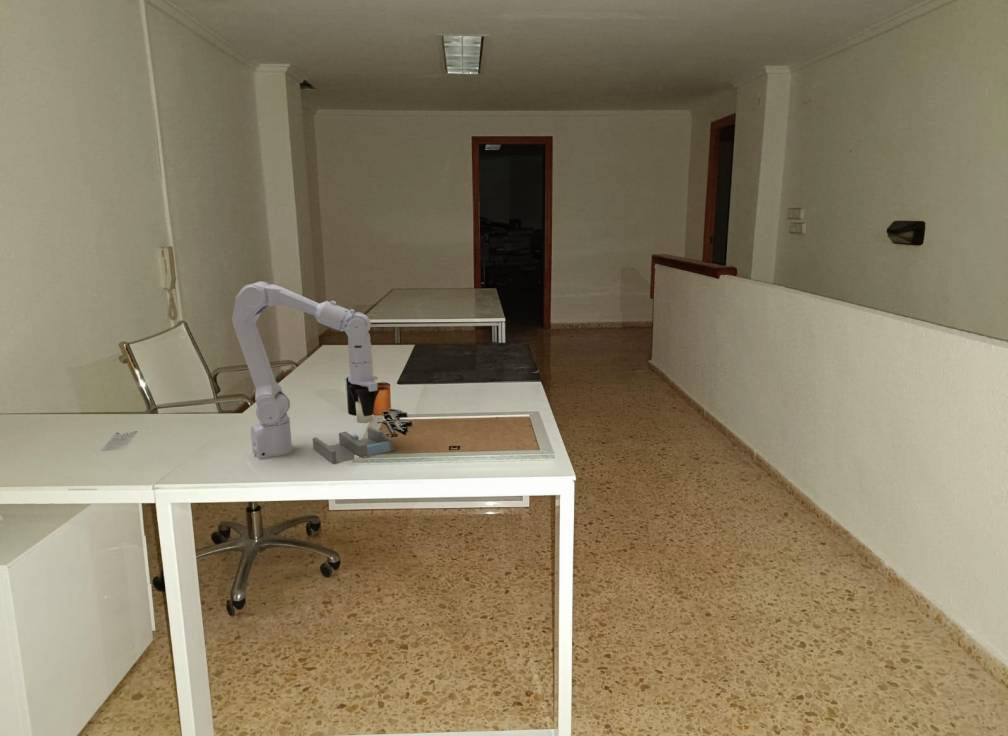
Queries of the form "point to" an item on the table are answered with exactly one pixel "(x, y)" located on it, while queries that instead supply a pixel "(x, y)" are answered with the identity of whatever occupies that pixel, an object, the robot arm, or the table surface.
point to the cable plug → (360, 416)
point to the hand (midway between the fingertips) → (364, 413)
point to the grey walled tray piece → (354, 446)
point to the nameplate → (396, 421)
